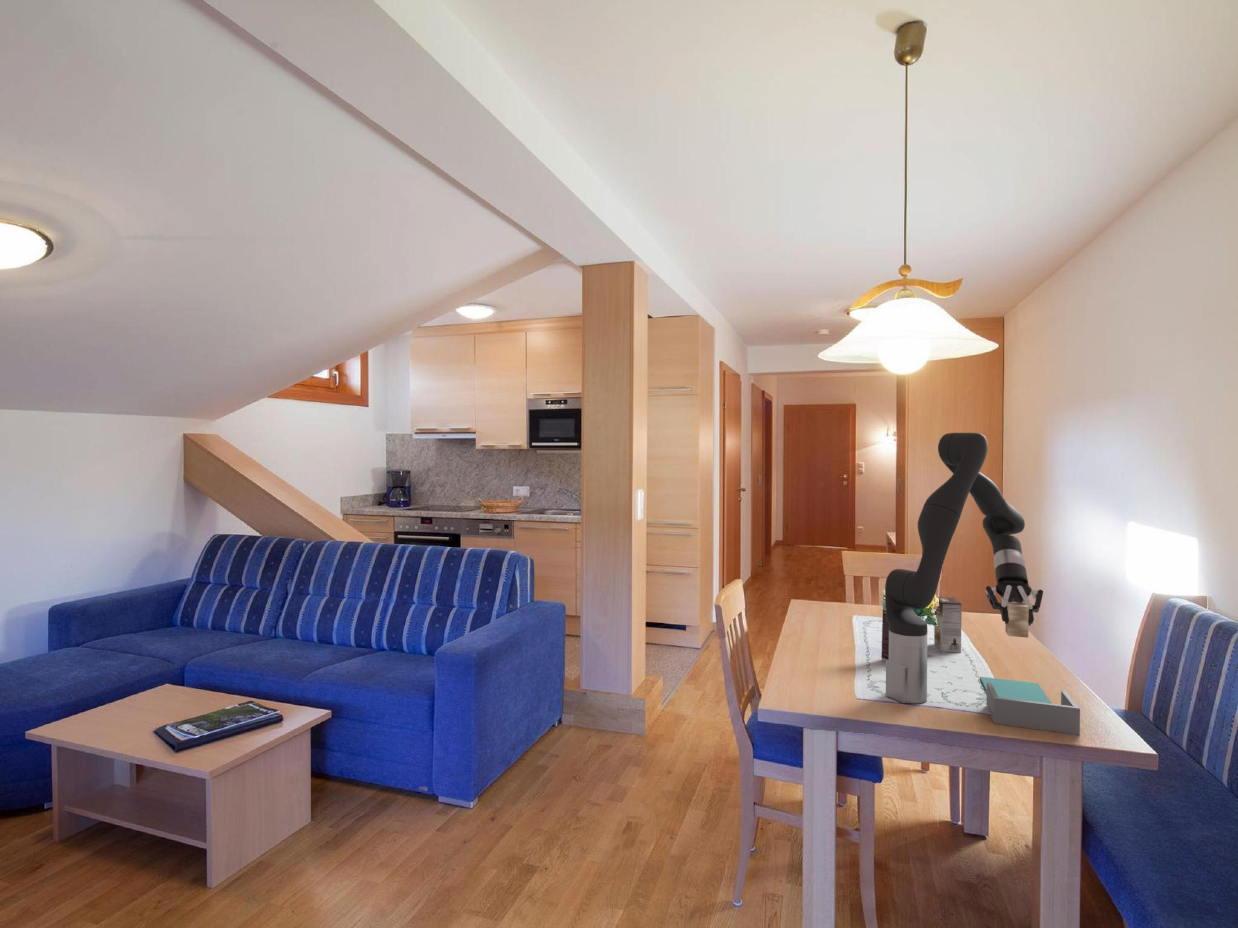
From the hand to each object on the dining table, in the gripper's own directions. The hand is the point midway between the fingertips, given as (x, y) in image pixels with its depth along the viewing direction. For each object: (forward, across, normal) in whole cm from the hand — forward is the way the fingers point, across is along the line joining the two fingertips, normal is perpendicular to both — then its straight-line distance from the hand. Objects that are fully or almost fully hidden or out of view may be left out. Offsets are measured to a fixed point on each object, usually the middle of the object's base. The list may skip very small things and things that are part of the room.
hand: (1018, 622), depth 172 cm
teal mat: (+11, 0, +17) cm, 20 cm away
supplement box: (-1, -28, +29) cm, 41 cm away
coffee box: (-16, -13, +44) cm, 49 cm away
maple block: (+1, 0, +4) cm, 4 cm away
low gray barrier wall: (+25, 0, +3) cm, 25 cm away
